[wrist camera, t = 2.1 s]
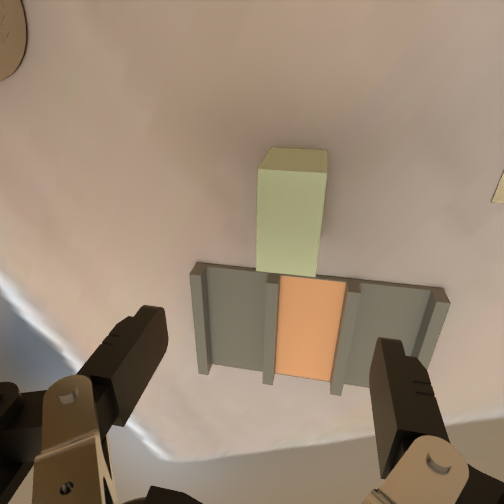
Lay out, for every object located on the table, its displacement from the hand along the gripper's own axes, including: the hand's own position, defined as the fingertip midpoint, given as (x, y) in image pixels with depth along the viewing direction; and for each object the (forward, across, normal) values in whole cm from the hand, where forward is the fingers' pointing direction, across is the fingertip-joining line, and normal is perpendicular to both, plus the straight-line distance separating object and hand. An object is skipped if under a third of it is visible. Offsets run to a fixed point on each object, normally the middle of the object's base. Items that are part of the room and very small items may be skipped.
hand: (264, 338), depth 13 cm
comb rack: (+16, -2, +13) cm, 21 cm away
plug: (+16, 0, 0) cm, 16 cm away
